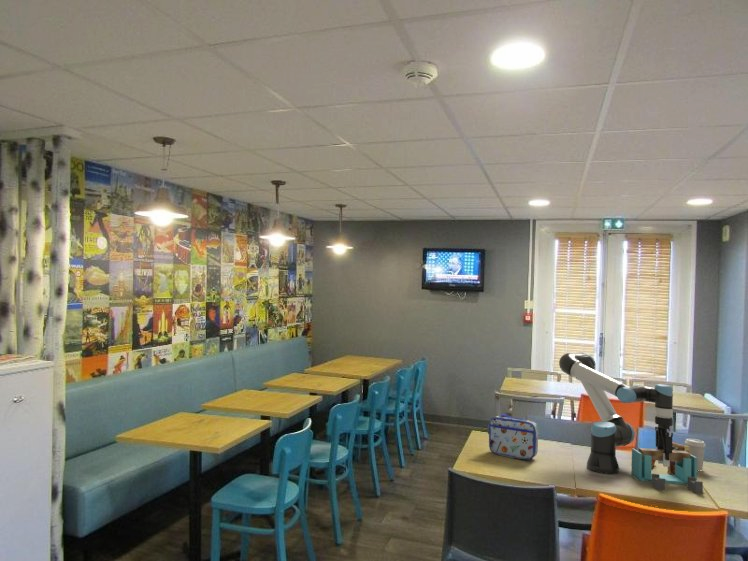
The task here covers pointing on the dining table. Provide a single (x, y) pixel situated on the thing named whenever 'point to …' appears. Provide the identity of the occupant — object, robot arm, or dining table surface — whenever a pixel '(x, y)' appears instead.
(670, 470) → the candy box
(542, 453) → the dining table surface
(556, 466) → the dining table surface
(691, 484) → the rests
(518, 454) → the lunch box
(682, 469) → the bracket
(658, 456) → the rail
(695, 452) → the coffee cup
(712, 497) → the dining table surface
